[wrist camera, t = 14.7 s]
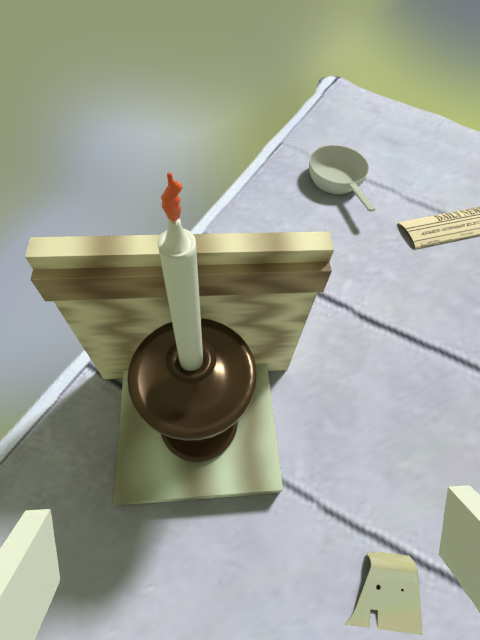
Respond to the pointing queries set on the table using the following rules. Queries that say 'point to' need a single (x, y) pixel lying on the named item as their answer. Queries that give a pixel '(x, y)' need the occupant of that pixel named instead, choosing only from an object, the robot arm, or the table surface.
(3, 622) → the robot arm
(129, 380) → the candlestick
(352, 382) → the table surface
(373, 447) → the table surface
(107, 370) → the pale wooden blocky structure
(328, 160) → the small pan
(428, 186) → the table surface
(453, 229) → the newspaper
